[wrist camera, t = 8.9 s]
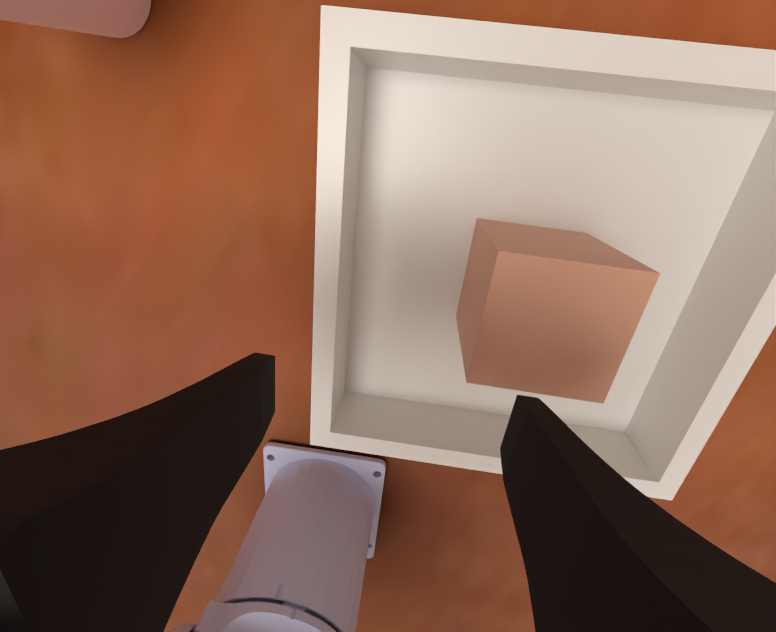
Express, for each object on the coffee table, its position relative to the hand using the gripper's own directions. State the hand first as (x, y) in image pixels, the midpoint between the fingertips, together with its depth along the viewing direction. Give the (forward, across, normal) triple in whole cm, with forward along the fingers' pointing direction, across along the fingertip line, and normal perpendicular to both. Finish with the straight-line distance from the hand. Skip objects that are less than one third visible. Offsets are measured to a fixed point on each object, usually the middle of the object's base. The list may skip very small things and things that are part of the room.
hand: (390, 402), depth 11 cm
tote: (+9, -5, -2) cm, 11 cm away
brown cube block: (+9, -5, -2) cm, 10 cm away
